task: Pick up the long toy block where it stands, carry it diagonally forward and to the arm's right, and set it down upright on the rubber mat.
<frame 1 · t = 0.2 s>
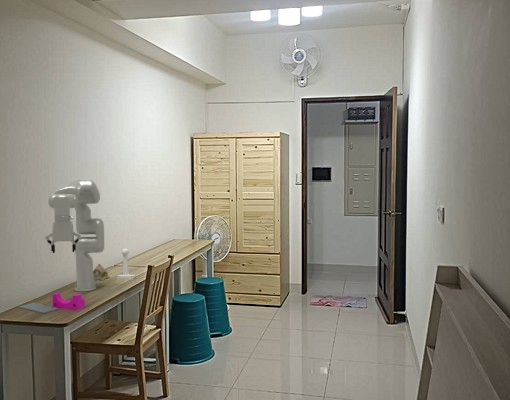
hand: (63, 252, 282), 30 cm above the table, tool pointing down, fingers open, 9 cm apart
mat: (38, 308, 287), on the table
ceramic model: (99, 279, 358), on the table
toy block: (68, 308, 288), on the table
joystick: (126, 278, 359), on the table
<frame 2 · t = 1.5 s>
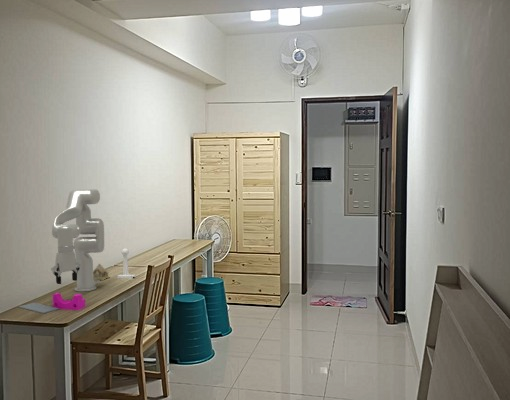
hand: (66, 282, 287), 13 cm above the table, tool pointing down, fingers open, 9 cm apart
nothing on the table moved.
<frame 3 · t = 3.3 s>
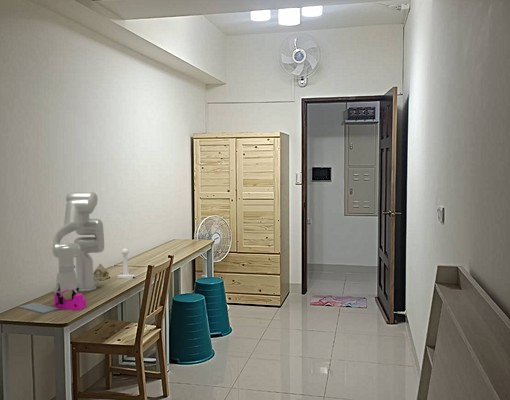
hand: (67, 302, 288), 3 cm above the table, tool pointing down, fingers closed on toy block, 7 cm apart
toy block: (70, 308, 288), on the table, touching gripper
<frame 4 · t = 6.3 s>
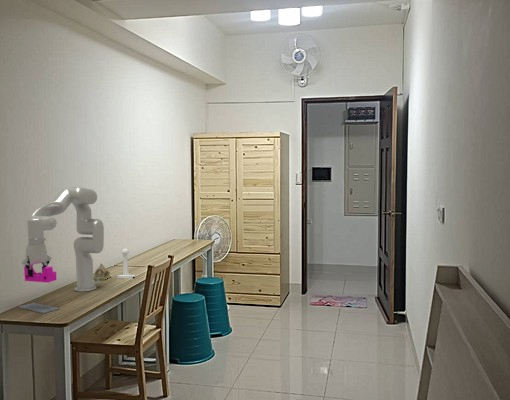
hand: (37, 275, 286), 18 cm above the table, tool pointing down, fingers closed on toy block, 7 cm apart
toy block: (40, 280, 285), point 15 cm above the table, touching gripper
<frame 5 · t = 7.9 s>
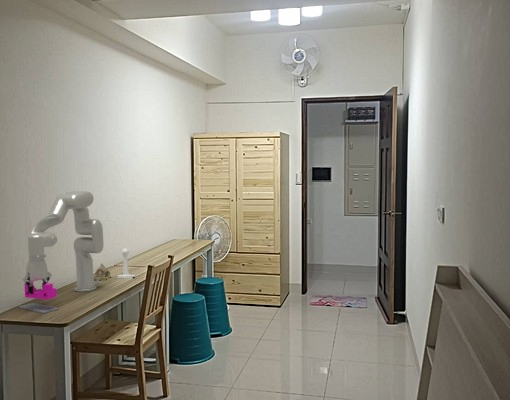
hand: (37, 291, 286), 9 cm above the table, tool pointing down, fingers closed on toy block, 7 cm apart
toy block: (40, 297, 286), point 6 cm above the table, touching gripper
when the fingers open (4 cm above the table, at t = 9.4 s): toy block stays where it is, resting on mat.
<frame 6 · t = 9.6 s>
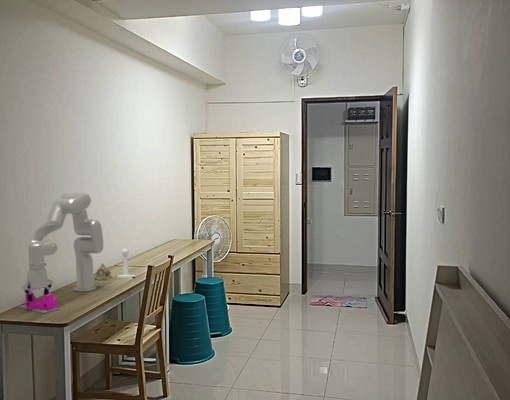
hand: (38, 299, 286), 5 cm above the table, tool pointing down, fingers open, 9 cm apart
toy block: (41, 307, 286), resting on mat
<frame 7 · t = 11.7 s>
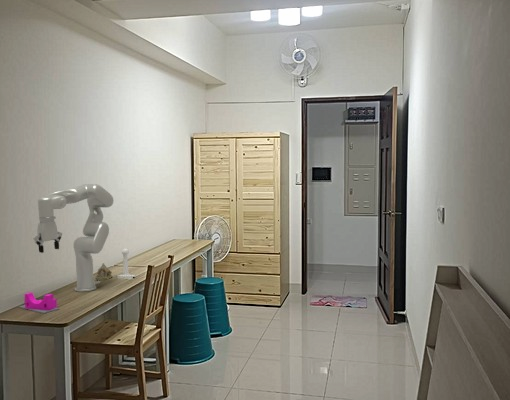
hand: (49, 250, 301), 28 cm above the table, tool pointing down, fingers open, 9 cm apart
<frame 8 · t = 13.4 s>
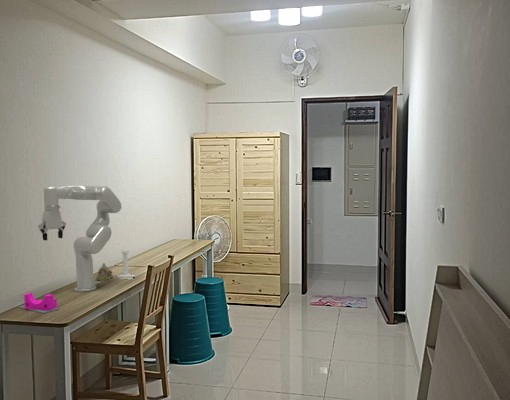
hand: (52, 239, 307), 33 cm above the table, tool pointing down, fingers open, 9 cm apart
at the end: toy block 2.2 cm off-centre on the mat, point 0.4 cm above the mat's base; toy block tilted 0°; toy block touching mat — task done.
